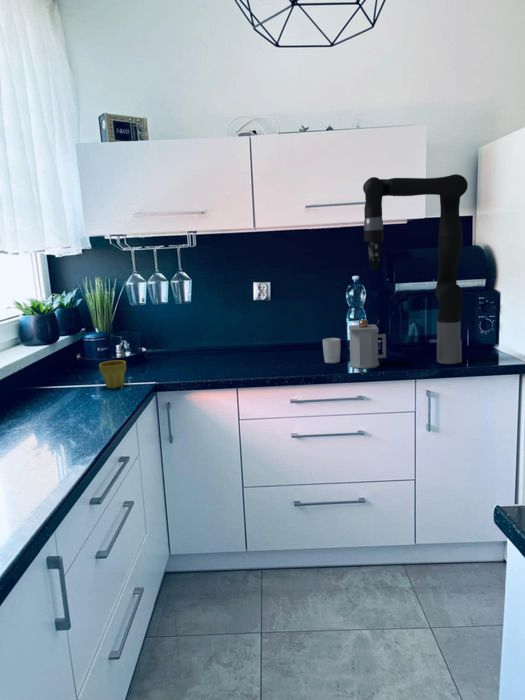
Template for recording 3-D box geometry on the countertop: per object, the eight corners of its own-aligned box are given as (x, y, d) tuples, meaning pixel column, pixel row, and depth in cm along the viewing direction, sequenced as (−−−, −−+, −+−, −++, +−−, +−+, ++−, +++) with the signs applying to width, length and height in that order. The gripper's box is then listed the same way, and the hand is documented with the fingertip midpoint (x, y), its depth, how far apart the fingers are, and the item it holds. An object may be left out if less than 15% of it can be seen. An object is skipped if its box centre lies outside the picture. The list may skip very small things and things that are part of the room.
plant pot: (118, 390, 215) (115, 366, 213) (96, 389, 219) (93, 365, 217) (133, 383, 225) (130, 360, 223) (112, 382, 228) (109, 359, 226)
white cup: (344, 362, 241) (343, 339, 239) (328, 364, 238) (327, 341, 236) (335, 358, 248) (334, 337, 246) (320, 361, 245) (319, 339, 243)
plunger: (373, 355, 236) (372, 318, 233) (376, 360, 227) (375, 321, 224) (352, 356, 236) (351, 319, 233) (354, 361, 227) (353, 322, 224)
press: (383, 361, 237) (383, 323, 234) (388, 367, 225) (387, 328, 222) (348, 362, 239) (347, 325, 235) (350, 369, 227) (349, 330, 223)
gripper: (385, 228, 214) (386, 270, 217) (380, 229, 227) (381, 268, 231) (366, 229, 214) (367, 271, 217) (362, 230, 228) (363, 269, 231)
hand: (374, 269), depth 224 cm, fingers open, 8 cm apart
